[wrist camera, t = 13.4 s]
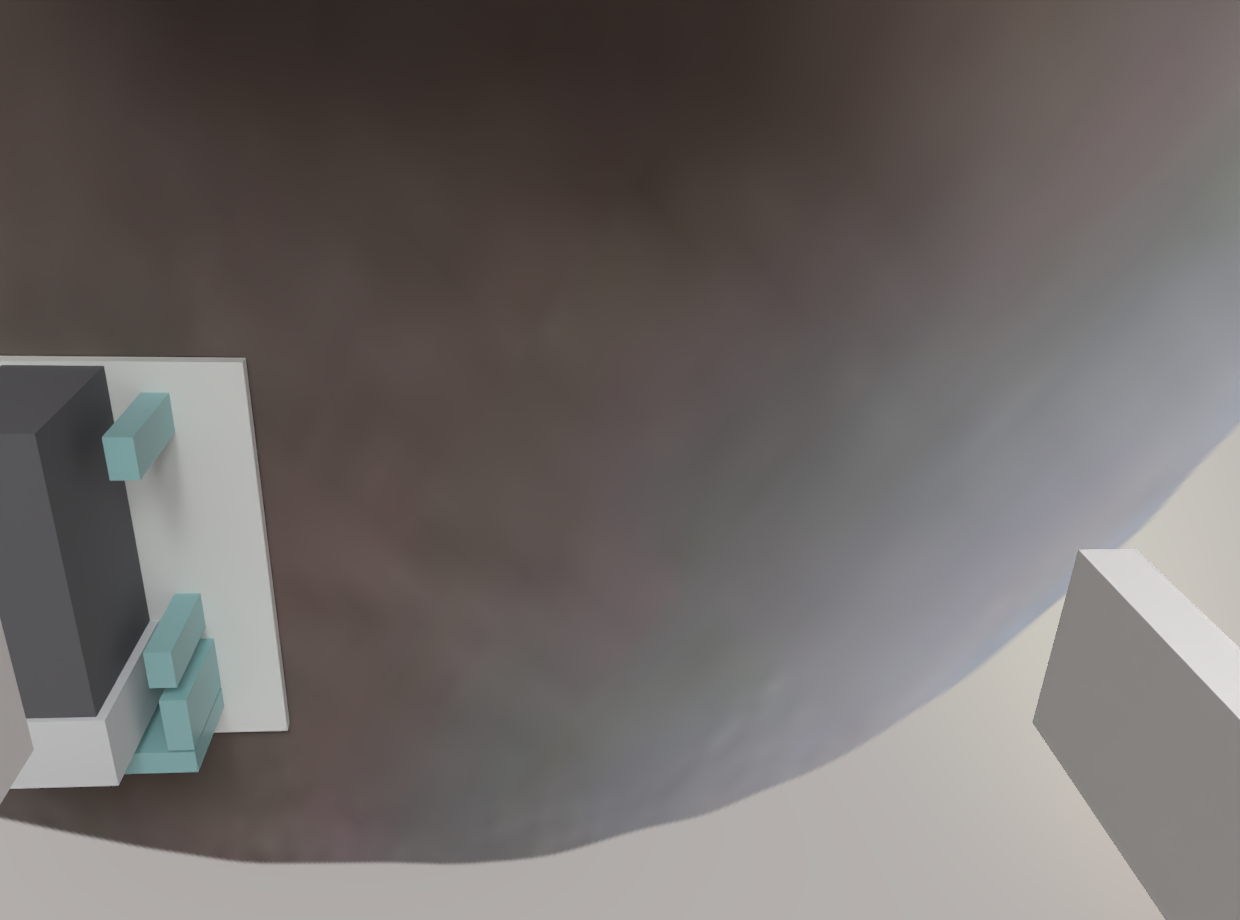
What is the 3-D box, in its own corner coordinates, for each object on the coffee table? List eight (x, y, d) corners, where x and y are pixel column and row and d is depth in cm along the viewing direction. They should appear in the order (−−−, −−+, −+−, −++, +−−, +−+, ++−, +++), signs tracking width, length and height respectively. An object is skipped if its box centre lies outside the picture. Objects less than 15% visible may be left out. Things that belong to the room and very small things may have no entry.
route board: (-130, 354, 37) (-208, 402, 33) (245, 357, 38) (213, 404, 34) (-23, 731, 44) (-77, 808, 40) (289, 723, 46) (267, 797, 42)
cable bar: (-9, 364, 37) (-101, 436, 32) (113, 365, 38) (44, 436, 32) (64, 682, 43) (-3, 789, 38) (169, 680, 44) (118, 785, 38)
